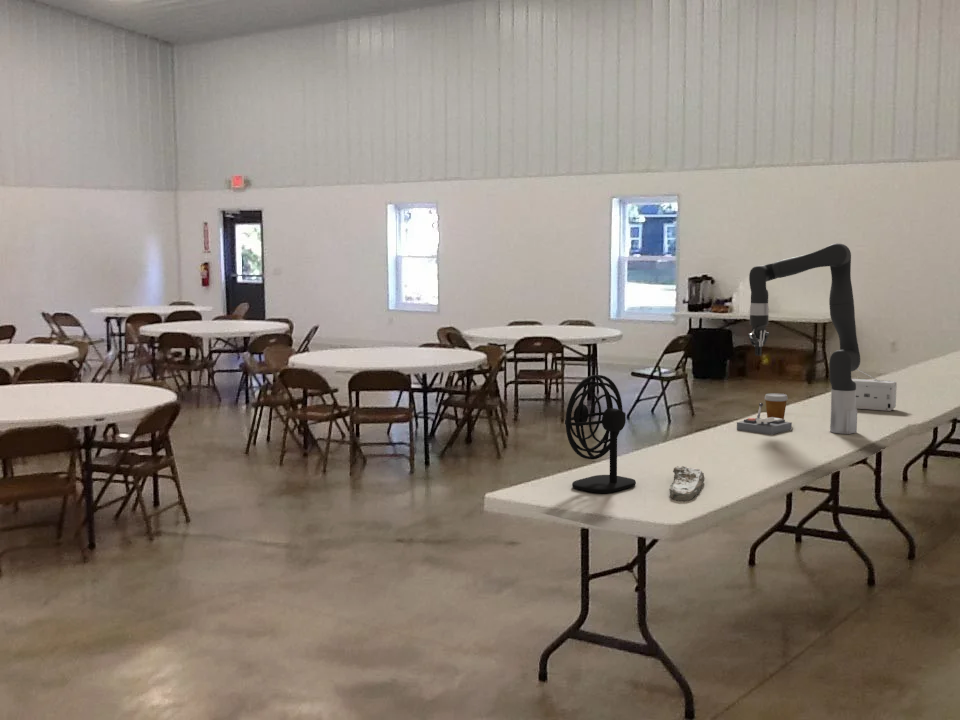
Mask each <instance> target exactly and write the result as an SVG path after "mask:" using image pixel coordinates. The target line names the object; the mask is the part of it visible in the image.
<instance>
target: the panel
mask: <svg viewBox="0 0 960 720" xmlns="http://www.w3.org/2000/svg"><path fill="white" fill-rule="evenodd" d="M754 418H755V417H754ZM759 419H763V418H761V417H760V418H759ZM756 420H758V418H757V417H756V418H755V420H754V421H751V420H748V418H745V419H743V420H741V421H737V422H736V430H737V431H744V432H750V433H757V434H765V435H776V434H781V433H784V432H789V431H792V430H793V429H792V423H793V422H790V421H786V419H784V420H780V421H772V422H766V423H764V422H761V423H759V424H757V422H756ZM788 430H789V431H788Z"/></svg>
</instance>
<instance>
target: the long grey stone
mask: <svg viewBox="0 0 960 720" xmlns="http://www.w3.org/2000/svg"><path fill="white" fill-rule="evenodd" d="M672 472H673V473H674V474H673V481H672V483H671V485H670V486H669V489H668V490H669V494H670V498H672V499H673V500H674V501H677V502H690V501H691V500H692V499H693V498H695V497H696V496H697V495H698V494H699V492H700V491H701V489H702V486H703V483H704V482H705V474H704V472H703V471H702V470H701V469H699V468H694V467H687V466H684V465H682V466H678V465H677V466H675V467H673V470H672Z"/></svg>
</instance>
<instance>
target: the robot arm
mask: <svg viewBox="0 0 960 720" xmlns="http://www.w3.org/2000/svg"><path fill="white" fill-rule="evenodd" d="M851 265H852V252H851V249H850V248H849V247H848V246H847V245H846V244H845V243H844V244H843V243H839V242H838V243H835V242H834V243H832V244H830V245H828V246H825V247H823V248H821V249H819V250H816V251H815V250H814V251H813V252H810V253H806V254H802V255H797V256H793V257H788V258H784V259H780V260H777V261H774V262H772V263H767V264H763V265H761V264H760V265H755V266H753V267H752V268H751V269H750V271H749V274H748V275H749V278H748V279H749V287H750V305H749V325H750V326H751V333H748V334H747V337H748V339H749V342H750V345H752V346H754V355H755V356H756V357H760V356H762V352H763V350H762V349H763V348H762V347H764V345H766V344H767V340H768V339H769V336H770V332H769V331H768V332H767V326H768V325H769V317H770V315H769V312H770V311H769V310H770V309H769V308H770V307H769V290H768V289H767V282H769V281H772V280H776V279H780V278H787V277H790V276H795V275H797V274H801V273H803V272H806V271H808V270H813V269H817V268H824V267H830V268H829V269H830V274H831V283H830V284H831V285H830V291H829V300H828V302H829V313H830V314H829V315H830V319H831V322H832V325H833V327H834V329H835V331H836V333H837V335H838V339H839V350H838V349H837V350H835V351H833V352H832V354H831V355H830V358H829V364H828V365H829V368H828V369H829V382H830V386H831V391H830V420H829V421H830V423H829V424H830V425H829V426H830V427H829V429H830V430H829V431H830V433H835V434H841V435H842V434H843V435H844V434H846V435H847V434H848V435H850V434H855V433H857V431H858V430H857V429H858V408H855V402H856V383H855V382H853V381H852V379H853V378H852V372H854V371H856V370H857V369H858V368H859V367H860V365H861V354H860V350H859V349H860V348H859V344H858V338H857V337H858V336H857V327H856V318H855V317H856V315H855V314H856V313H855V301H854V293H853V286H852V278H851V276H852V275H851V273H852V272H851Z"/></svg>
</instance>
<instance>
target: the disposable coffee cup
mask: <svg viewBox="0 0 960 720" xmlns="http://www.w3.org/2000/svg"><path fill="white" fill-rule="evenodd" d="M788 399H789V398H788V395H787V394H786V393H785V394H784V393H777V392H776V393H774V392H773V393H766V394H765V395H764V400H765V407H766V409H765V410H766V418H770V417H774V418H781V419H783V420H785V412H786V408H787V403H788V402H787V401H788Z"/></svg>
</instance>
